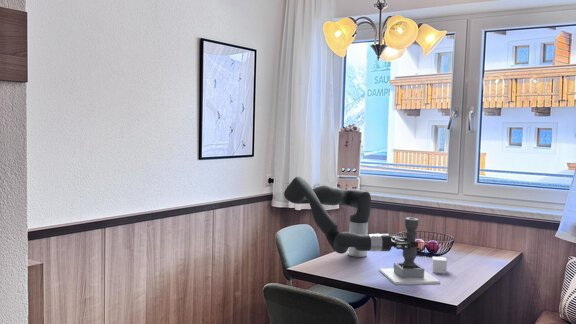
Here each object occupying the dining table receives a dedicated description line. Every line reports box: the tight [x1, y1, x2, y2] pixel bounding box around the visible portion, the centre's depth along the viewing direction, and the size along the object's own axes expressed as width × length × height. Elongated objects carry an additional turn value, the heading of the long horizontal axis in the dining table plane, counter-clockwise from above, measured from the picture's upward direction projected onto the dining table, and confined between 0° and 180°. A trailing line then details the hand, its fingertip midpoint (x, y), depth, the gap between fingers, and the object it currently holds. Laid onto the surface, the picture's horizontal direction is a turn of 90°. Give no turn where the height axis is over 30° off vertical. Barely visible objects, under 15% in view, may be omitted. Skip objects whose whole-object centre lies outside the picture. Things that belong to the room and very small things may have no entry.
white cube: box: [431, 256, 448, 274], centre depth 240 cm, size 6×6×6 cm
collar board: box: [378, 262, 441, 286], centre depth 229 cm, size 20×20×5 cm
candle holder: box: [401, 216, 420, 269], centre depth 228 cm, size 6×6×25 cm
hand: (414, 242), depth 229 cm, fingers open, 8 cm apart
